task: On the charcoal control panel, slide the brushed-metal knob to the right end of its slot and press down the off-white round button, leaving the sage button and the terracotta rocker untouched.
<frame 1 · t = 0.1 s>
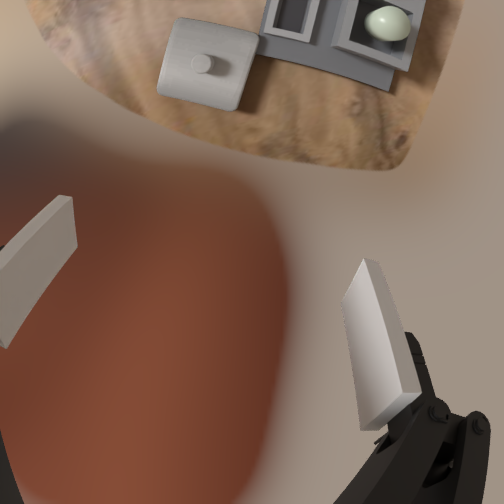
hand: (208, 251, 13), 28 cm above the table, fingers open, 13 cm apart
sage button: (386, 24, 23), point 7 cm above the table, slide at 0.0 cm
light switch: (210, 62, 33), on the table
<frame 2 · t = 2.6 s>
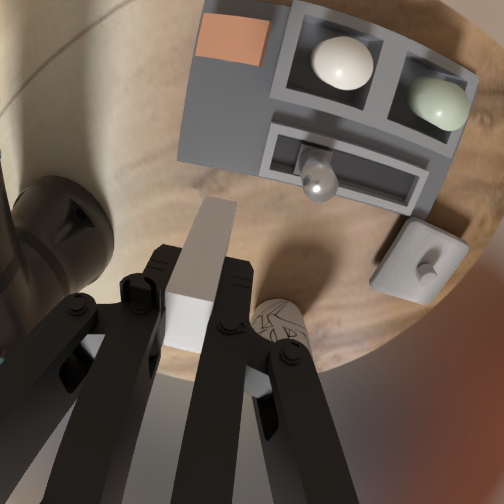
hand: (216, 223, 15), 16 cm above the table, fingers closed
rocker: (233, 38, 19), point 4 cm above the table, hinge at -12.0°
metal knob: (315, 170, 25), point 5 cm above the table, slide at 0.0 cm
white button: (339, 62, 18), point 7 cm above the table, slide at 0.0 cm
sage button: (437, 101, 19), point 7 cm above the table, slide at 0.0 cm
mug: (272, 320, 42), on the table
panel: (334, 107, 26), on the table
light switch: (414, 252, 35), on the table
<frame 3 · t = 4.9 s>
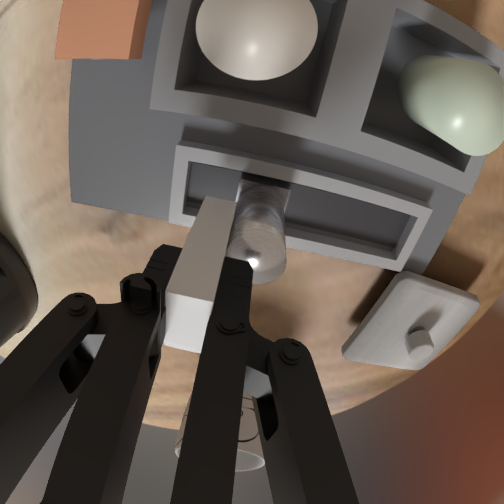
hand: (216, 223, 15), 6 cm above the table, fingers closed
rocker: (101, 23, 11), point 4 cm above the table, hinge at -12.0°
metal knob: (258, 224, 16), point 5 cm above the table, slide at 0.9 cm, touching gripper
white button: (258, 30, 9), point 7 cm above the table, slide at 0.0 cm
sage button: (452, 99, 10), point 7 cm above the table, slide at 0.0 cm
mug: (225, 379, 33), on the table
panel: (282, 111, 17), on the table
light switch: (405, 308, 26), on the table
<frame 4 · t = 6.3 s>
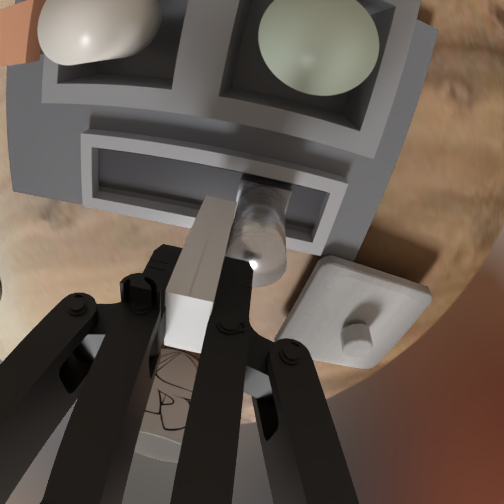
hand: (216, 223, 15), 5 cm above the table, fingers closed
rocker: (14, 34, 10), point 4 cm above the table, hinge at -12.0°
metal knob: (259, 225, 16), point 5 cm above the table, slide at 7.0 cm, touching gripper
white button: (103, 19, 9), point 7 cm above the table, slide at 0.0 cm
sage button: (312, 42, 9), point 7 cm above the table, slide at 0.0 cm
mug: (172, 369, 33), on the table
panel: (181, 93, 17), on the table
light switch: (348, 300, 25), on the table
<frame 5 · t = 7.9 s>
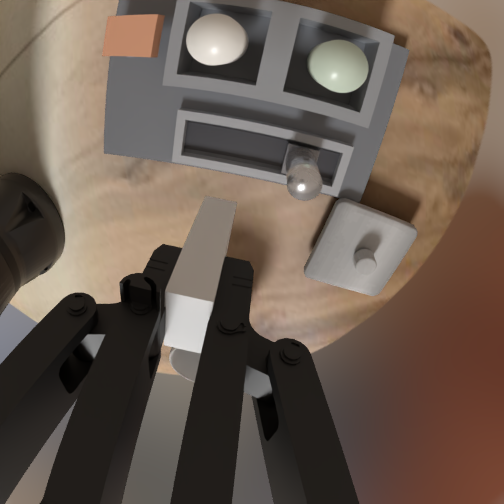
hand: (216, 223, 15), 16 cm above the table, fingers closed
rocker: (132, 35, 19), point 4 cm above the table, hinge at -12.0°
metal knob: (301, 169, 25), point 5 cm above the table, slide at 7.0 cm
white button: (219, 40, 18), point 7 cm above the table, slide at 0.0 cm
sage button: (335, 65, 18), point 7 cm above the table, slide at 0.0 cm
mug: (215, 309, 42), on the table
panel: (246, 88, 26), on the table
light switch: (356, 238, 34), on the table
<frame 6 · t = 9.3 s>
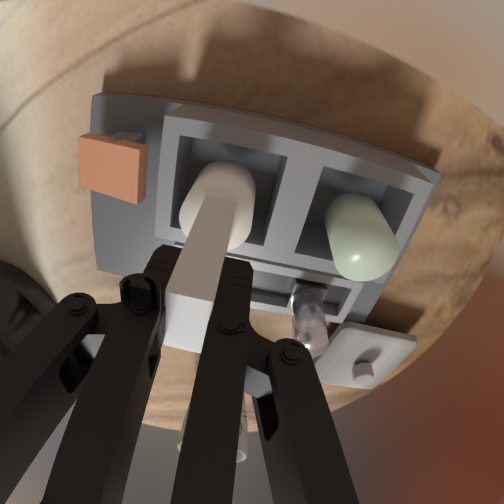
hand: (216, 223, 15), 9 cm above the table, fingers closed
rocker: (112, 166, 18), point 4 cm above the table, hinge at -12.0°
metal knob: (308, 316, 24), point 5 cm above the table, slide at 7.0 cm
white button: (220, 203, 17), point 7 cm above the table, slide at 0.1 cm, touching gripper
sage button: (359, 234, 18), point 7 cm above the table, slide at 0.0 cm
mug: (217, 391, 41), on the table
panel: (250, 214, 25), on the table
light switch: (357, 342, 34), on the table
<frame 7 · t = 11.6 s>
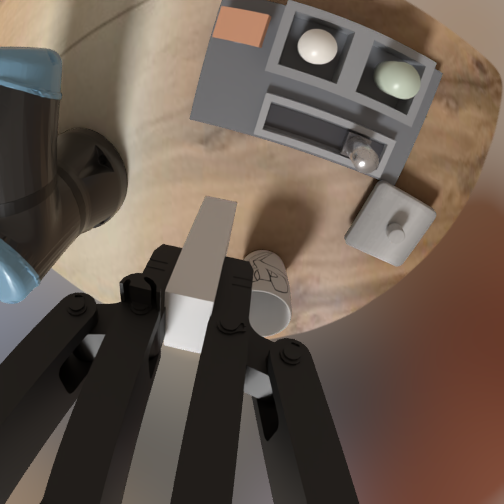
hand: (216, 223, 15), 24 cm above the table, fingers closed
rocker: (241, 26, 25), point 4 cm above the table, hinge at -12.0°
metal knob: (359, 152, 31), point 5 cm above the table, slide at 7.0 cm
white button: (316, 47, 26), point 5 cm above the table, slide at 2.2 cm
sage button: (396, 78, 25), point 7 cm above the table, slide at 0.0 cm
mug: (258, 272, 48), on the table
panel: (318, 85, 32), on the table
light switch: (386, 217, 41), on the table
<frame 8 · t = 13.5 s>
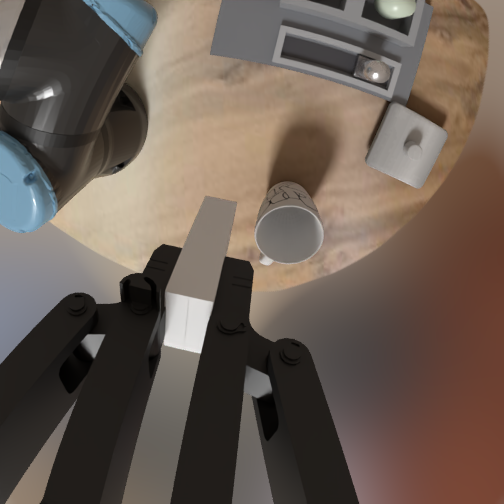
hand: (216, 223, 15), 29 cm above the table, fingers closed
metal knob: (371, 70, 30), point 5 cm above the table, slide at 7.0 cm
sage button: (394, 3, 24), point 7 cm above the table, slide at 0.0 cm
mug: (282, 207, 47), on the table
panel: (326, 20, 31), on the table
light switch: (401, 141, 40), on the table
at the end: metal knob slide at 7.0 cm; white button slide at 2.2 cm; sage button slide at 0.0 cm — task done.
